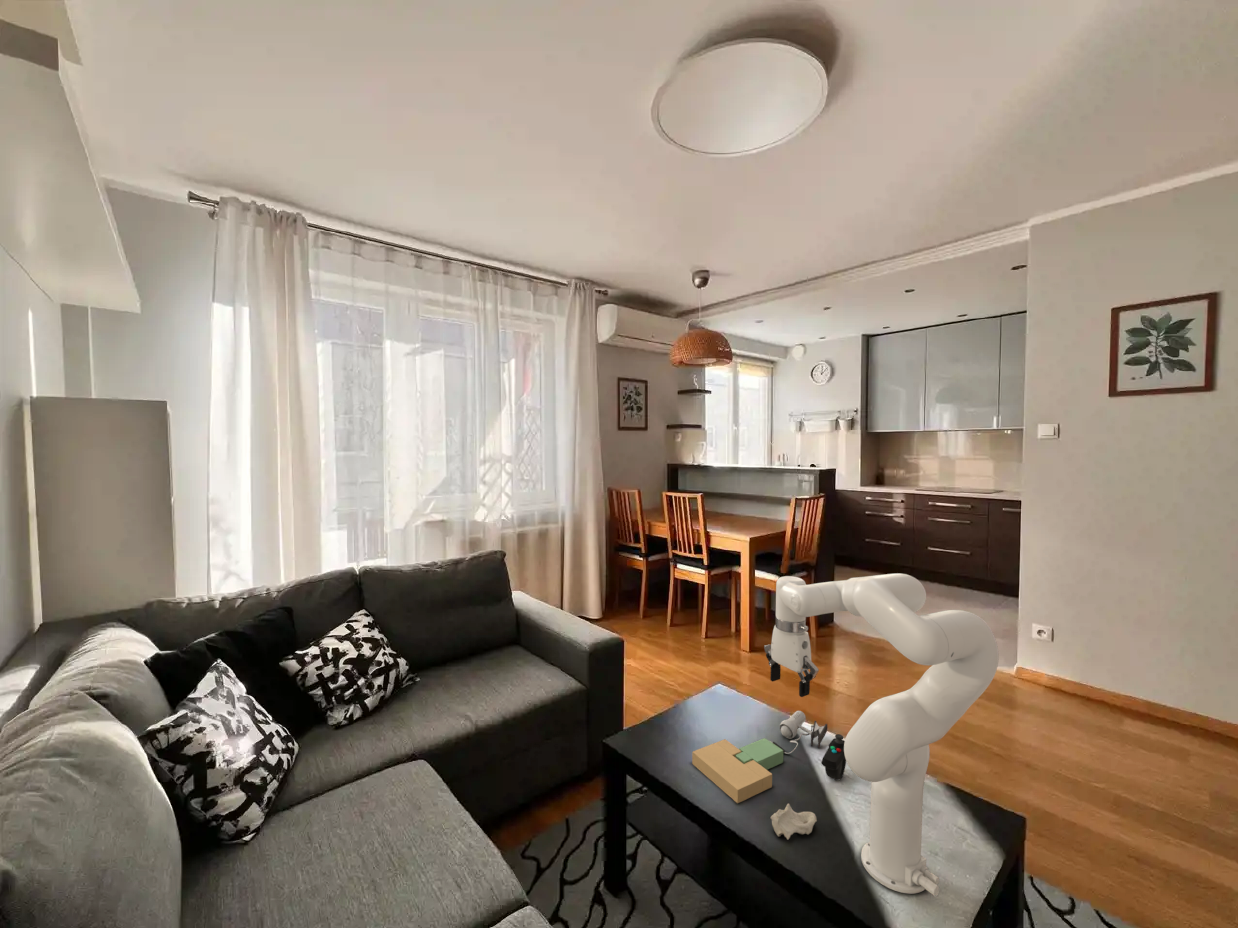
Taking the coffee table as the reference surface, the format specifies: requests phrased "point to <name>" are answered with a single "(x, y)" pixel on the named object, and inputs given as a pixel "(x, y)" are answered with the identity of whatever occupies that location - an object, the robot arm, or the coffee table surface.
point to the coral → (792, 822)
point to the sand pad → (731, 771)
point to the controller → (835, 758)
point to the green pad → (761, 754)
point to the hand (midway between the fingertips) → (789, 687)
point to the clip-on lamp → (795, 722)
